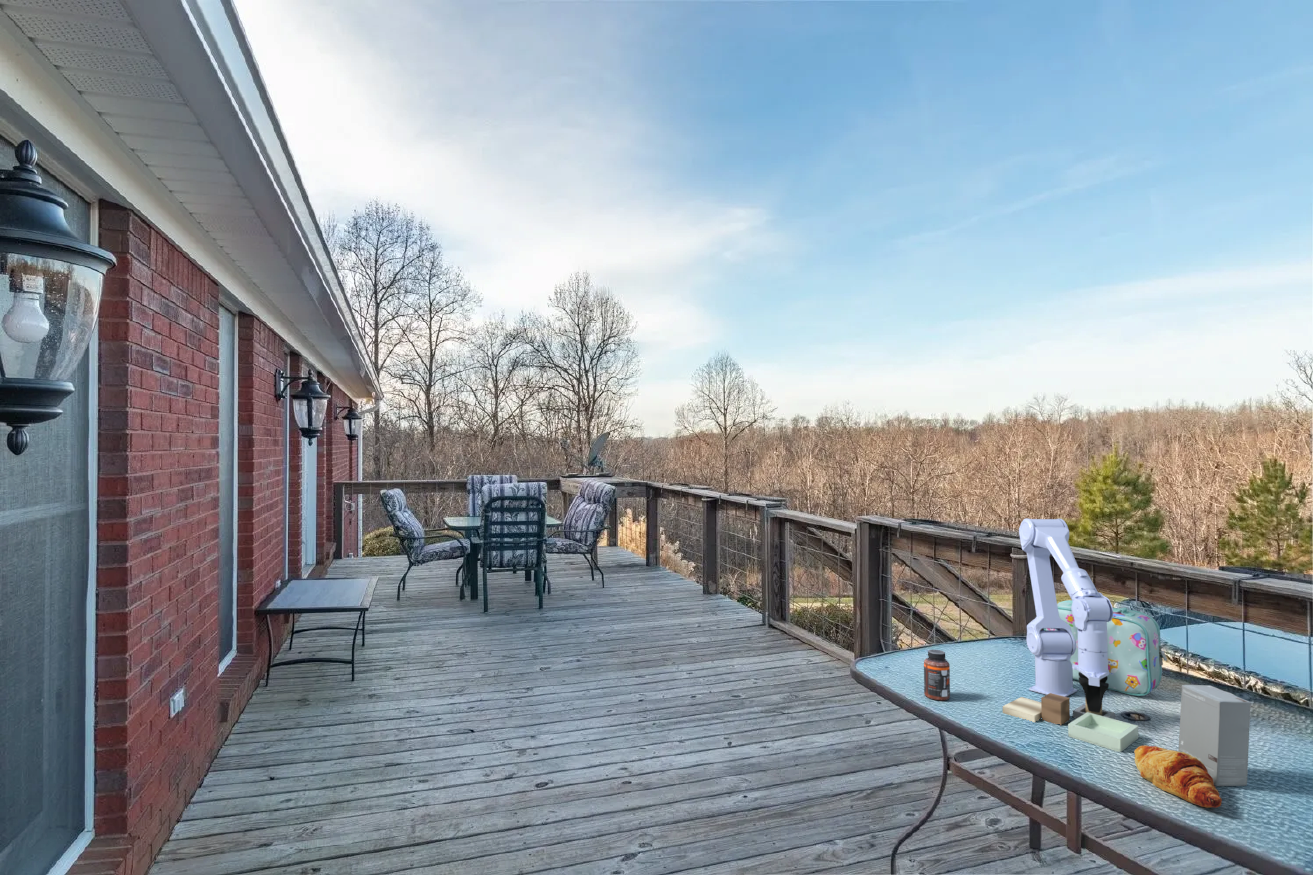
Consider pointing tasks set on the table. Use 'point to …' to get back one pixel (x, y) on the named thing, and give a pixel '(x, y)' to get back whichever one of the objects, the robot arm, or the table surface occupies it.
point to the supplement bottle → (936, 676)
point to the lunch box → (1126, 650)
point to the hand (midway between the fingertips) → (1093, 708)
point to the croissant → (1177, 775)
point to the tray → (1103, 731)
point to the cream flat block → (1024, 709)
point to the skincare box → (1216, 732)
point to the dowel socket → (1082, 711)
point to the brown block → (1055, 708)
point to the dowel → (1091, 711)
